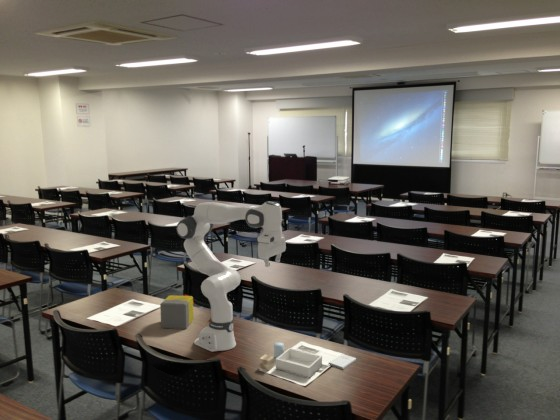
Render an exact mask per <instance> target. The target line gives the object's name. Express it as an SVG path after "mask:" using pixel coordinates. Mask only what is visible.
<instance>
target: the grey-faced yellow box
mask: <svg viewBox="0 0 560 420" xmlns="http://www.w3.org/2000/svg"><path fill="white" fill-rule="evenodd" d="M194 305H195V302H194V297H193V296H192V295H188V294H183V295H173V294H171V295H170V294H169V295H168V296H167V297H166V298H165V299H164V300H163V301H162V302H161V303H160V306H159V307H160V308H159V309H160V327H161V329H175V330H186V329H187V328H188V327H189V325H190V324H191V323H192V322H193V320H194Z"/></svg>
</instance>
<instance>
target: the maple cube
mask: <svg viewBox="0 0 560 420" xmlns="http://www.w3.org/2000/svg"><path fill="white" fill-rule="evenodd" d="M274 367H275V359H274V355H269V354H266V353H265V354H263V355H262V356H261V357H260V358H259V369H260V370H261V369H262V370H265V371H270V370H272V369H273V368H274Z"/></svg>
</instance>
